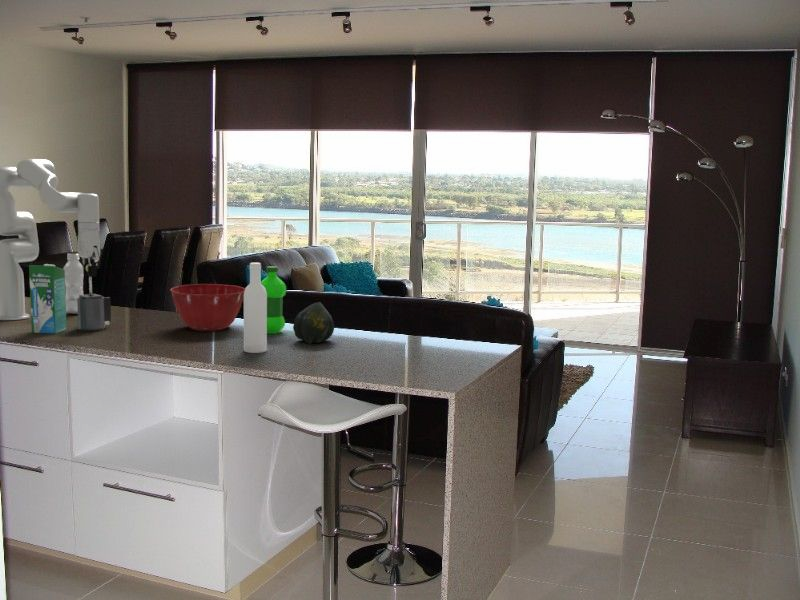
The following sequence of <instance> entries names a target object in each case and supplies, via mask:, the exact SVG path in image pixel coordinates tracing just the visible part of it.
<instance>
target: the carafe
mask: <svg viewBox="0 0 800 600" xmlns="http://www.w3.org/2000/svg"><path fill="white" fill-rule="evenodd" d="M111 305H112V304H111V297H110V296H107V297H105V296H103V295H101V294H96V293H92V296H89V294H83V295H79V297H78V298H77V309H78V314H77V328H78V331H80V332H98V331H103V330H105V328H106V325H105V321H109V322H111V321H112V315H111V311H112V310H111V307H112V306H111Z"/></svg>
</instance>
